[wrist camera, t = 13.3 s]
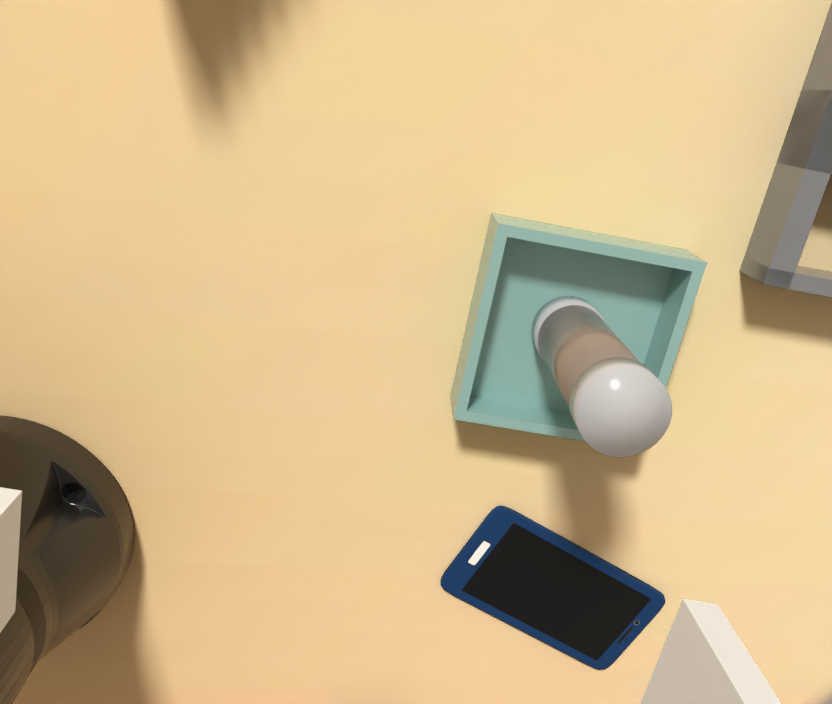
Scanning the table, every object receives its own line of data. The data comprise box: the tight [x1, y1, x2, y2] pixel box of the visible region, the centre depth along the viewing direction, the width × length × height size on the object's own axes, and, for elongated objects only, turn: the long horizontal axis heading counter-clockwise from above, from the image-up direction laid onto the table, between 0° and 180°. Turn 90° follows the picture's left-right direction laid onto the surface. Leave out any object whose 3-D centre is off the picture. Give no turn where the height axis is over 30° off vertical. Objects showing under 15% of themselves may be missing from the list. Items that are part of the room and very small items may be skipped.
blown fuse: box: [531, 296, 672, 457], centre depth 37 cm, size 4×4×12 cm
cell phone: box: [441, 506, 665, 670], centre depth 50 cm, size 7×14×1 cm, turn 58°
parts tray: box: [450, 213, 707, 441], centre depth 42 cm, size 11×11×3 cm
